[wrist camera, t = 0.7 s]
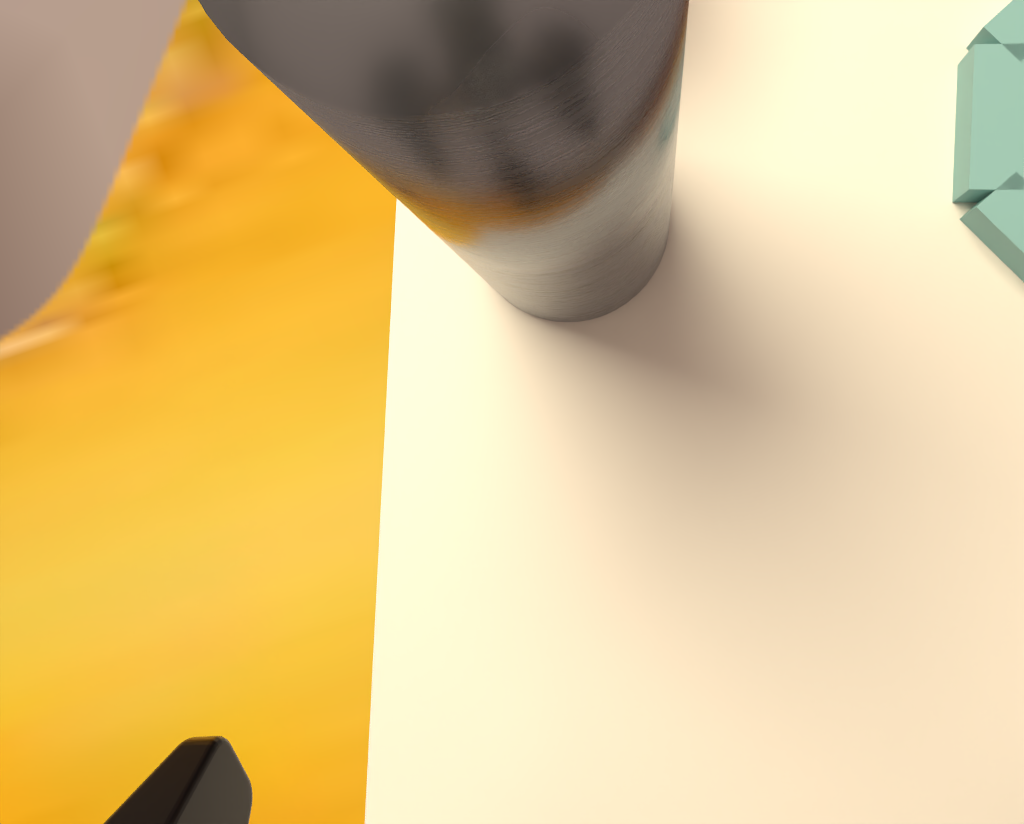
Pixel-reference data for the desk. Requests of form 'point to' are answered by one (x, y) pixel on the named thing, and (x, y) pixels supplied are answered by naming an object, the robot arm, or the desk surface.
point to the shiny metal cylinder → (498, 126)
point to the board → (732, 464)
